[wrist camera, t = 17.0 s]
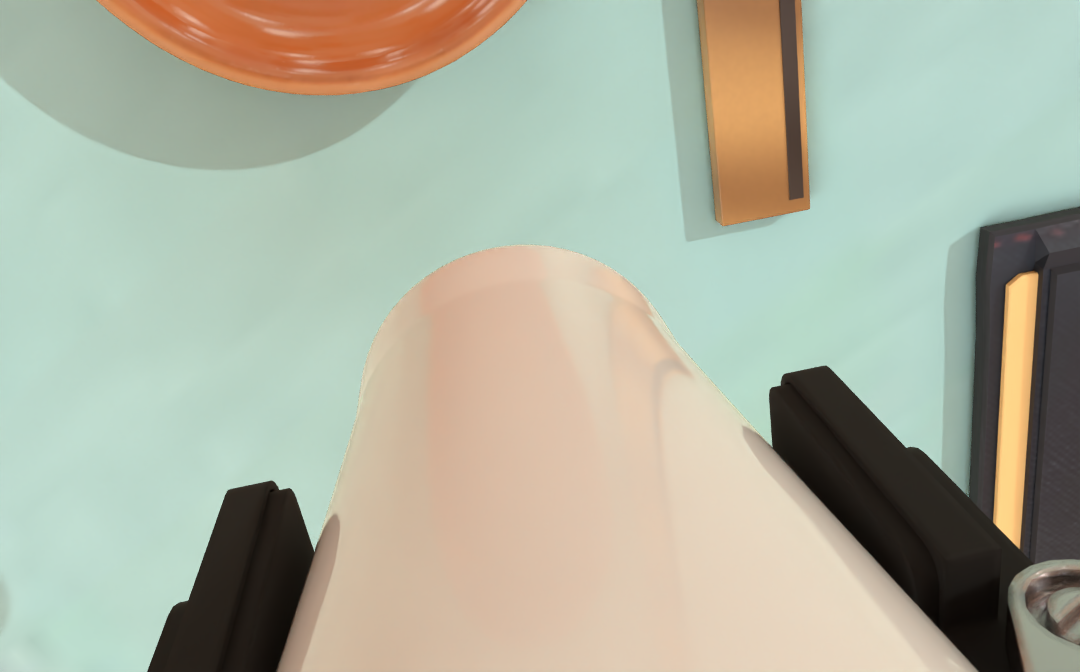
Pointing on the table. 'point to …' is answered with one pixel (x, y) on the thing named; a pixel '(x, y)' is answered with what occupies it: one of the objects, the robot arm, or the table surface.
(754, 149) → the ruler
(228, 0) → the saucer
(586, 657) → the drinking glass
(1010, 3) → the table surface
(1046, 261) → the wallet
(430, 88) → the table surface
